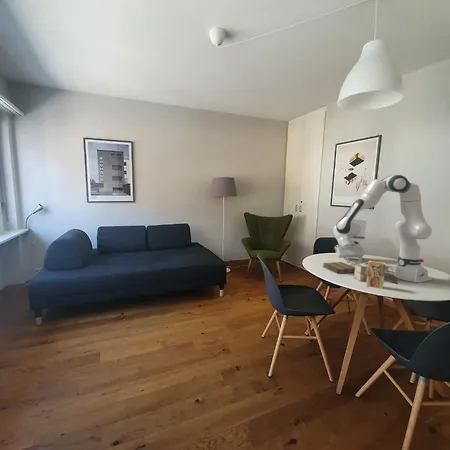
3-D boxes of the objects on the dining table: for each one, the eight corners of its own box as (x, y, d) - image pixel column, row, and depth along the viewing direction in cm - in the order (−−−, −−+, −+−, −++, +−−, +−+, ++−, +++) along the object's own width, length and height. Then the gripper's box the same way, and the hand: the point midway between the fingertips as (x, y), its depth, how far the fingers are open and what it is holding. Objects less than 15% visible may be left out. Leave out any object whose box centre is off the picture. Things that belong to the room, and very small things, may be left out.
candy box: (382, 286, 158) (385, 262, 156) (383, 288, 155) (385, 264, 153) (366, 283, 163) (368, 260, 160) (366, 286, 159) (368, 262, 157)
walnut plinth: (341, 265, 201) (341, 261, 201) (356, 272, 186) (356, 268, 185) (323, 266, 197) (323, 263, 197) (336, 273, 182) (337, 269, 182)
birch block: (360, 278, 173) (361, 263, 172) (366, 280, 168) (367, 265, 167) (354, 278, 172) (355, 264, 171) (359, 281, 167) (360, 266, 166)
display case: (362, 262, 212) (366, 220, 207) (348, 260, 217) (351, 219, 212) (361, 258, 222) (365, 218, 217) (348, 257, 227) (351, 217, 222)
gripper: (335, 243, 177) (344, 260, 169) (360, 242, 182) (370, 259, 174) (331, 247, 182) (339, 265, 174) (355, 246, 187) (364, 263, 179)
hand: (355, 262), depth 174 cm, fingers open, 8 cm apart
